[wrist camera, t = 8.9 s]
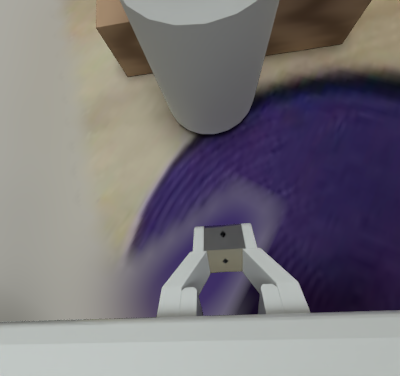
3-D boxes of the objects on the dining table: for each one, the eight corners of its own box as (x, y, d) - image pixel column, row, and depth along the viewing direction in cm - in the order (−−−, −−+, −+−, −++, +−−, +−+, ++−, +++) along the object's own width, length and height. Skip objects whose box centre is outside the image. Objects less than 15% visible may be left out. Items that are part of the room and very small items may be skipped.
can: (155, 116, 18) (38, -71, 7) (196, 53, 19) (156, -219, 7) (226, 153, 17) (237, 1, 5) (267, 83, 18) (358, -191, 6)
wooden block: (333, 7, 18) (374, -72, 13) (342, 43, 18) (388, -26, 13) (127, 42, 20) (96, -16, 15) (127, 76, 19) (95, 27, 14)
